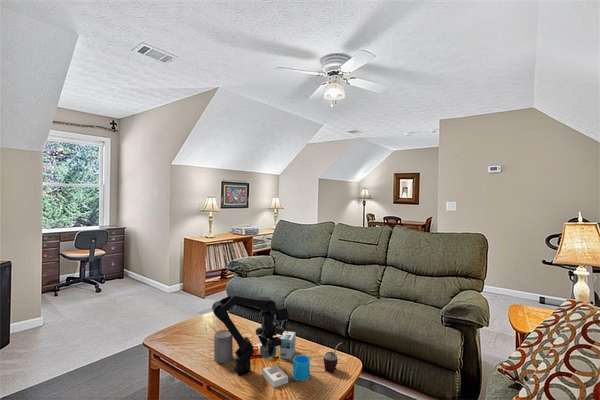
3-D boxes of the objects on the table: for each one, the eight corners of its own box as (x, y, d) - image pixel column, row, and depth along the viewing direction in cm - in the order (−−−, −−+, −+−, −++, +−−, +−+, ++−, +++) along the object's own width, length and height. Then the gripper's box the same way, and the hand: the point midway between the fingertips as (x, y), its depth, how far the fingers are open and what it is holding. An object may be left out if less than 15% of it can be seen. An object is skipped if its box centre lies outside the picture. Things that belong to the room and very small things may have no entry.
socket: (273, 387, 144) (273, 379, 144) (262, 375, 154) (262, 367, 154) (288, 382, 148) (288, 375, 148) (275, 370, 158) (275, 363, 158)
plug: (265, 363, 158) (265, 350, 158) (260, 358, 163) (260, 346, 163) (275, 360, 162) (276, 347, 162) (270, 355, 166) (271, 343, 166)
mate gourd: (321, 367, 161) (321, 338, 161) (334, 364, 165) (334, 336, 165) (328, 375, 155) (328, 345, 154) (341, 372, 158) (342, 342, 158)
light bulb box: (291, 360, 169) (291, 340, 169) (279, 358, 170) (279, 338, 170) (295, 350, 179) (295, 331, 179) (284, 349, 181) (284, 330, 181)
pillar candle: (223, 352, 176) (223, 325, 176) (236, 357, 171) (236, 329, 171) (210, 360, 168) (210, 332, 167) (223, 365, 163) (223, 336, 162)
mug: (297, 369, 160) (298, 353, 160) (312, 373, 156) (312, 357, 156) (286, 381, 149) (286, 364, 149) (301, 386, 145) (301, 369, 145)
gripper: (291, 326, 159) (290, 356, 159) (273, 314, 174) (273, 342, 175) (271, 330, 153) (271, 362, 153) (255, 318, 168) (255, 347, 169)
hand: (268, 352), depth 162 cm, fingers closed on plug, 6 cm apart
